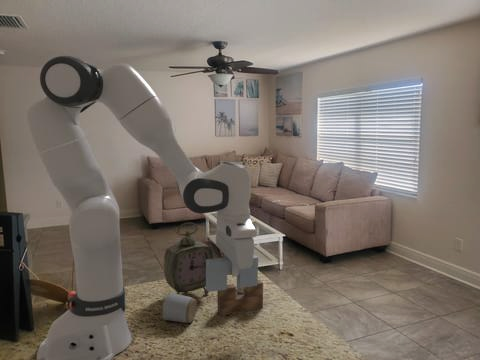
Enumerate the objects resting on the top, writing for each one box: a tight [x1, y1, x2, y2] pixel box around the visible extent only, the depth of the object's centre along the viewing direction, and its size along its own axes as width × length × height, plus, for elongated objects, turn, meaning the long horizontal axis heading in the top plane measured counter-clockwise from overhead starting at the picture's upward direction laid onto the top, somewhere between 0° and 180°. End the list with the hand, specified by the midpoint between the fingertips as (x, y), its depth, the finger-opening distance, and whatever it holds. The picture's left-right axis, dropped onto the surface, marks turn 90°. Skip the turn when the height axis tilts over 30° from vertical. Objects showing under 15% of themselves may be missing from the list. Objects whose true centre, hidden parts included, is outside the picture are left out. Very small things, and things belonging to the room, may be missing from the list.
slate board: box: [205, 254, 259, 293], centre depth 103 cm, size 14×2×8 cm, turn 110°
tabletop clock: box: [163, 221, 214, 295], centre depth 126 cm, size 14×9×25 cm, turn 123°
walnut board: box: [216, 279, 264, 316], centre depth 117 cm, size 14×2×8 cm, turn 110°
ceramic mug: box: [161, 292, 198, 324], centre depth 112 cm, size 11×8×8 cm
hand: (231, 272), depth 103 cm, fingers closed on slate board, 2 cm apart
